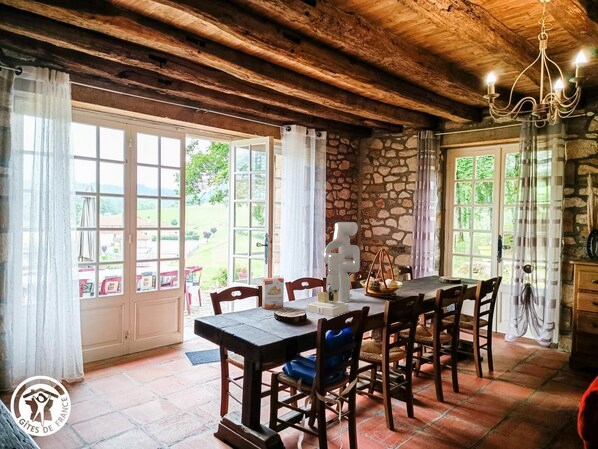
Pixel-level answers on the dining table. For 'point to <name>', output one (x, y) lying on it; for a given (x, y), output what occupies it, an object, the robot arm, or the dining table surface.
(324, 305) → the kitchen scale
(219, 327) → the dining table surface
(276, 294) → the cracker box
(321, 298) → the brass weight
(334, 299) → the brass weight
